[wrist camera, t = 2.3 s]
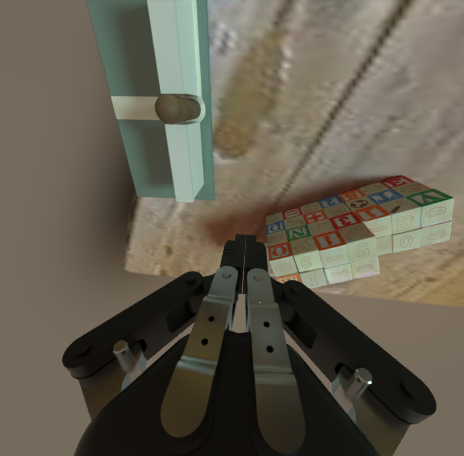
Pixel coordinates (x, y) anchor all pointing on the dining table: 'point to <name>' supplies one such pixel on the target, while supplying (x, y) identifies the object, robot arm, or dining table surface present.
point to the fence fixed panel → (174, 46)
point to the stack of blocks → (355, 231)
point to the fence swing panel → (185, 159)
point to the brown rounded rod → (176, 109)
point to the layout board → (149, 92)
